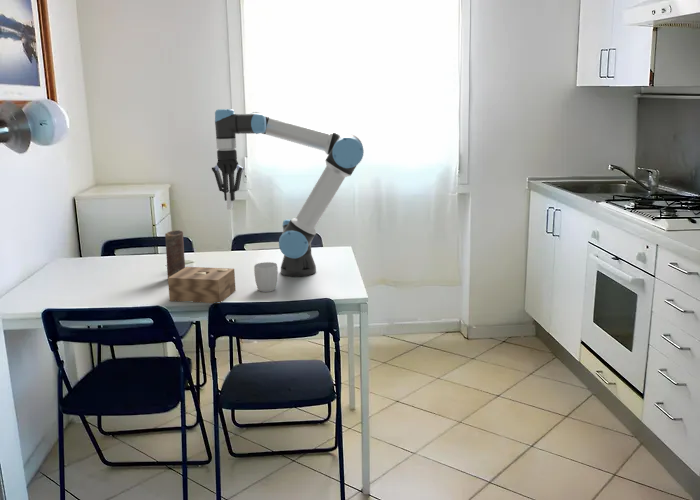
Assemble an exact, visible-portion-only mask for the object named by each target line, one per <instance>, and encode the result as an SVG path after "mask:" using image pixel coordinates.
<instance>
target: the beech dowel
mask: <svg viewBox="0 0 700 500" xmlns="http://www.w3.org/2000/svg"><path fill="white" fill-rule="evenodd" d="M195 275H206V272H197V273H195Z"/></svg>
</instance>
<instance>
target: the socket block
mask: <svg viewBox="0 0 700 500" xmlns="http://www.w3.org/2000/svg"><path fill="white" fill-rule="evenodd" d="M197 272H206V275H195V273H197ZM167 284H168V295H169V302H181V301H193V302H192V303H201V302H203V304H205V303H206V304H215V303H214V302H221V301H222V302H224V301H225V300H226V299H227V298H229V297H230V296H231V295H232V294H234V293H235V292H236V291H237V290H236V275H235V268H232V267H229V268H227V267H225V268H224V267H199V266H185V268H184V269H182V270H180V271H179V272H177V273H175V274H174V275H172V276H170V277H168V276H167ZM175 300H176V301H175ZM204 302H205V303H204ZM222 302H221V303H222Z"/></svg>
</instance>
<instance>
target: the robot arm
mask: <svg viewBox="0 0 700 500" xmlns="http://www.w3.org/2000/svg"><path fill="white" fill-rule="evenodd" d="M214 126H215V138H216V140H215V141H216V149H217V151H216V155H217V157H216V158H217V162H216V165H215V166H213V167H211V171H212V172H213V174H214V177H215V180H216V184H217V187H218V191H219V192H222V193H223V194H224V198H223V199H224V201H226V209H227V210H233V209H234V201H235V200H236V197H235V196H236V195H235V193H236V192H238V191H239V190H240V185H241V180H242V175H243V174H242V173H243V172H244V170H245V167H244V166H241V165H239V162H238V160H237V159H238V155H237V154H238V153H237V139H236V135H240V134H241V135H242V134H251V135H253V134H256V135H260V134H263V135H267V136H270V137H273V138H277V139H281V140H283V141H288V142H291V143H294V144H299V145H302V146H306V147H308V148H309V147H310V148H312V149H315V150H316V149H317V150H319V151H322V152H325V154H326V155H328V156H327V157H326V159H325V163H326V166H325V167H324V170H323V171H322V173H321V174H320V177H318V180H317V181H316V183H315V185H314V187H313V189H312V190H311V192H310V194H309V195H308V197H307V198H306V200H305V202H304V203H303V205H302V207H301V209H300V211H299V212H298V214H297V216H296V217H292V218H290V219H289V218H287V219H285V220H283V222H282V233H281V235H280V236H279V239H278V247H279V250H280V253H282V254H283V258H282V262H281V266H280V274H281V275H283V276H287V277H306V276H311V275H313V274H315V273H316V272H317V267H316V266H317V265H316V263H315V260H314V257H313V255H312V242H313V239H314V238H315V236H316V234H317V232H316V227H317V226H318V224H319V222H320V220H321V218H322V217H323V216H324V214H325V212H326V210H327V208H329V205H330V204H331V202H332V200H333V198H334V197H335V196H336V194H337V192H338V190H339V189H340V187H341V185H342V184H343V182H344V180H345V178H347V177H350V176H352V174H353V173H354V171H355V169H356V168H357V166H358V165H359V164H360V163H361V162H362V160H363V157H364V146H363V144H362V143H363V142H362V141H361V140H360V139H359V138H358V137H357V136H356V135H353V134H349V133H342V132H336V131H330V132H328V131H324V130H320V129H318V128H312V127H309V126H305V125H303V124H302V125H301V124H299V123H295V122H291V121H288V120H285V119H281V118H277V117H274V116H269V115H266V114H263V113H262V112H257V111H255V112H254V111H253V112H251V113H241V114H240V113H239V114H238V113H235V111H234V109H232V108H221V109H216V110H215V111H214ZM220 171H221V172H220ZM235 171H237V172H236V176H235Z"/></svg>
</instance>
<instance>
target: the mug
mask: <svg viewBox="0 0 700 500" xmlns="http://www.w3.org/2000/svg"><path fill="white" fill-rule="evenodd" d="M253 267H254V268H253V271H254V279H255V284H256V287H257V290H258V291H259V292H263V293H265V292H266V293H268V292H274V291H275V290H276V288H277V285H278V273H279V271H278V264H277V263H275V262H270V261H267V262H265V261H264V262H259V263H255V264H254V266H253Z"/></svg>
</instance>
